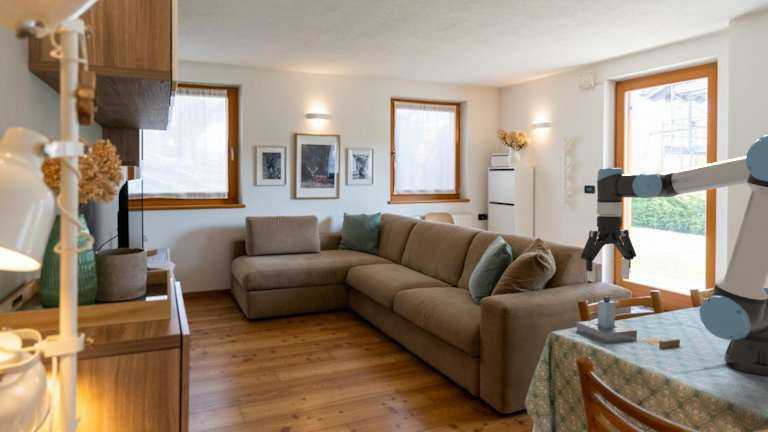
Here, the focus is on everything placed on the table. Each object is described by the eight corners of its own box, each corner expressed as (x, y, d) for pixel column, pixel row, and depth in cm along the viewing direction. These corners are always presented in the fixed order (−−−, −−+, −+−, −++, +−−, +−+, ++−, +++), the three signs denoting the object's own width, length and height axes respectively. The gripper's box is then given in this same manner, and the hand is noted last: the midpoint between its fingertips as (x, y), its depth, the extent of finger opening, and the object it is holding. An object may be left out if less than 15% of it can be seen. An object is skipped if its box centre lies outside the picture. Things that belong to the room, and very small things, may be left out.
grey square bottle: (614, 338, 170) (615, 297, 169) (605, 339, 169) (606, 298, 168) (606, 335, 173) (607, 295, 172) (597, 336, 172) (598, 296, 171)
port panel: (636, 342, 166) (636, 329, 166) (606, 345, 163) (606, 332, 162) (605, 330, 180) (605, 318, 179) (576, 333, 176) (576, 320, 176)
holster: (679, 349, 160) (679, 339, 159) (661, 351, 157) (662, 341, 157) (656, 340, 168) (656, 331, 168) (638, 342, 166) (639, 333, 166)
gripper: (631, 214, 176) (630, 275, 177) (569, 215, 168) (569, 280, 169) (648, 215, 169) (647, 279, 170) (585, 216, 161) (584, 284, 162)
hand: (608, 280), depth 169 cm, fingers open, 13 cm apart
